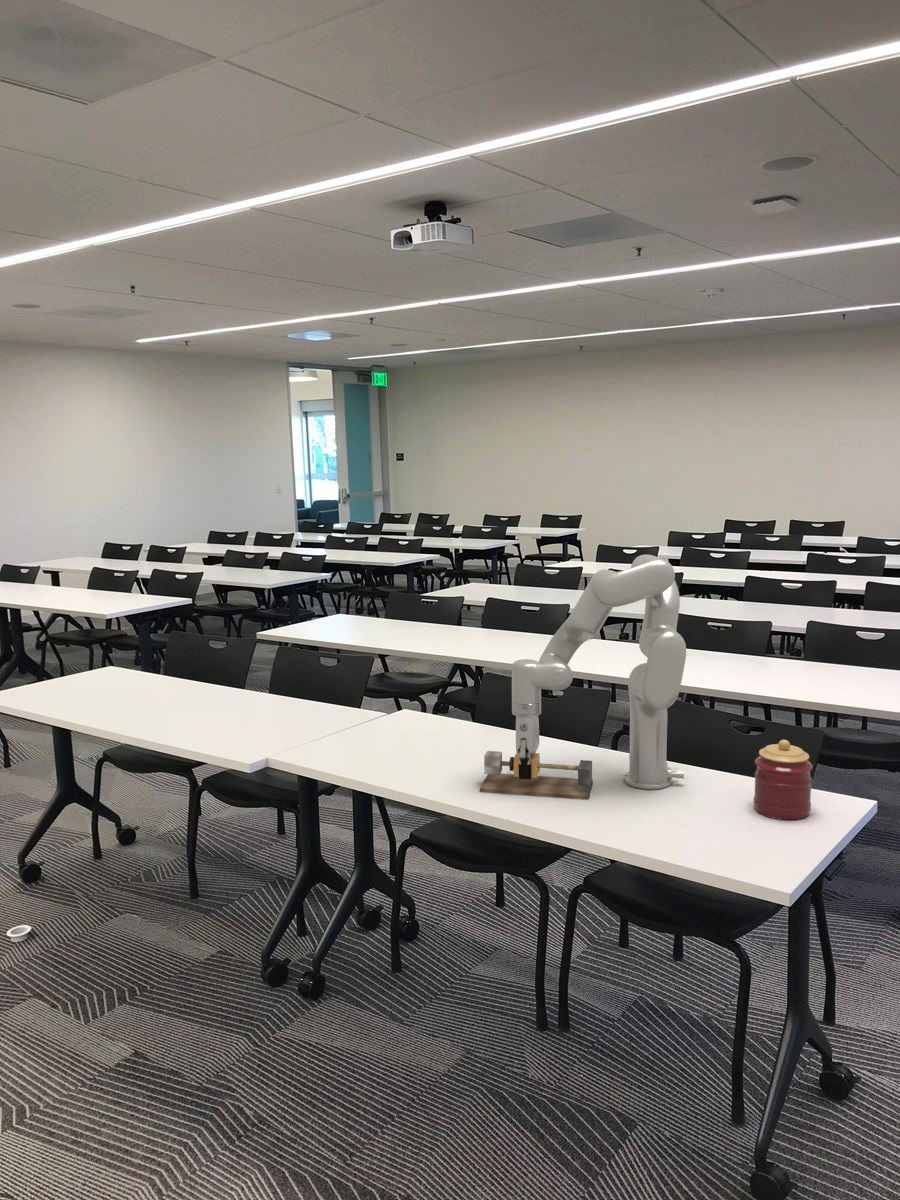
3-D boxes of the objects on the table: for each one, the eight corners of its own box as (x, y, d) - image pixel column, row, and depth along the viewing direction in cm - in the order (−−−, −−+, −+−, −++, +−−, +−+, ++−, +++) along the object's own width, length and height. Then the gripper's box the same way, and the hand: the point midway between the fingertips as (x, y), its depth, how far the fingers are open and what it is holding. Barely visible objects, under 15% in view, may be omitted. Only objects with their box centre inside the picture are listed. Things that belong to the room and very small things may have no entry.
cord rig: (592, 783, 238) (593, 752, 237) (588, 799, 226) (588, 767, 225) (488, 776, 245) (488, 746, 243) (479, 791, 233) (479, 760, 232)
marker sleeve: (539, 771, 237) (539, 753, 236) (536, 778, 232) (536, 759, 232) (517, 770, 239) (516, 751, 238) (513, 776, 234) (513, 758, 233)
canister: (806, 824, 209) (809, 751, 206) (748, 815, 215) (750, 743, 212) (814, 806, 220) (817, 736, 217) (758, 797, 226) (761, 729, 223)
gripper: (536, 717, 224) (536, 787, 227) (545, 699, 240) (545, 765, 243) (506, 715, 226) (506, 785, 228) (517, 698, 242) (518, 763, 245)
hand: (526, 774), depth 236 cm, fingers closed on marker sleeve, 5 cm apart
